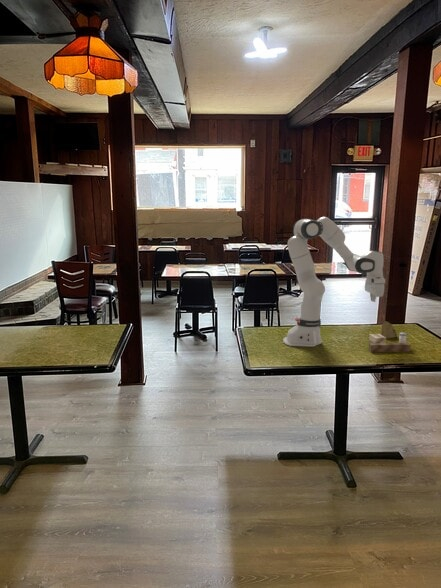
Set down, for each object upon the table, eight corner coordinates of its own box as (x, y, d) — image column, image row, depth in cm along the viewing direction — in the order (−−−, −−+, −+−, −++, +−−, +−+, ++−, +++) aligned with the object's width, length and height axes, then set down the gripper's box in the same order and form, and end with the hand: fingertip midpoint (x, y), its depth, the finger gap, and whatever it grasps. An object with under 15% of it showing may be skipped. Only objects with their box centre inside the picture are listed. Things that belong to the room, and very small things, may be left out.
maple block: (375, 346, 246) (375, 338, 245) (368, 342, 254) (369, 334, 253) (385, 346, 247) (385, 337, 246) (378, 341, 254) (379, 333, 253)
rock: (396, 331, 267) (379, 328, 269) (400, 322, 260) (383, 319, 263) (396, 345, 260) (379, 342, 262) (400, 337, 254) (382, 334, 256)
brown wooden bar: (370, 352, 236) (371, 345, 235) (368, 350, 239) (369, 343, 238) (410, 351, 237) (410, 344, 236) (407, 349, 240) (408, 342, 239)
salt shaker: (400, 348, 243) (401, 334, 241) (397, 345, 246) (398, 332, 245) (406, 347, 243) (408, 334, 241) (403, 345, 247) (404, 332, 245)
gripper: (362, 275, 263) (361, 297, 265) (375, 281, 243) (374, 305, 245) (373, 275, 263) (371, 297, 266) (386, 281, 243) (385, 305, 246)
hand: (373, 301), depth 255 cm, fingers closed
